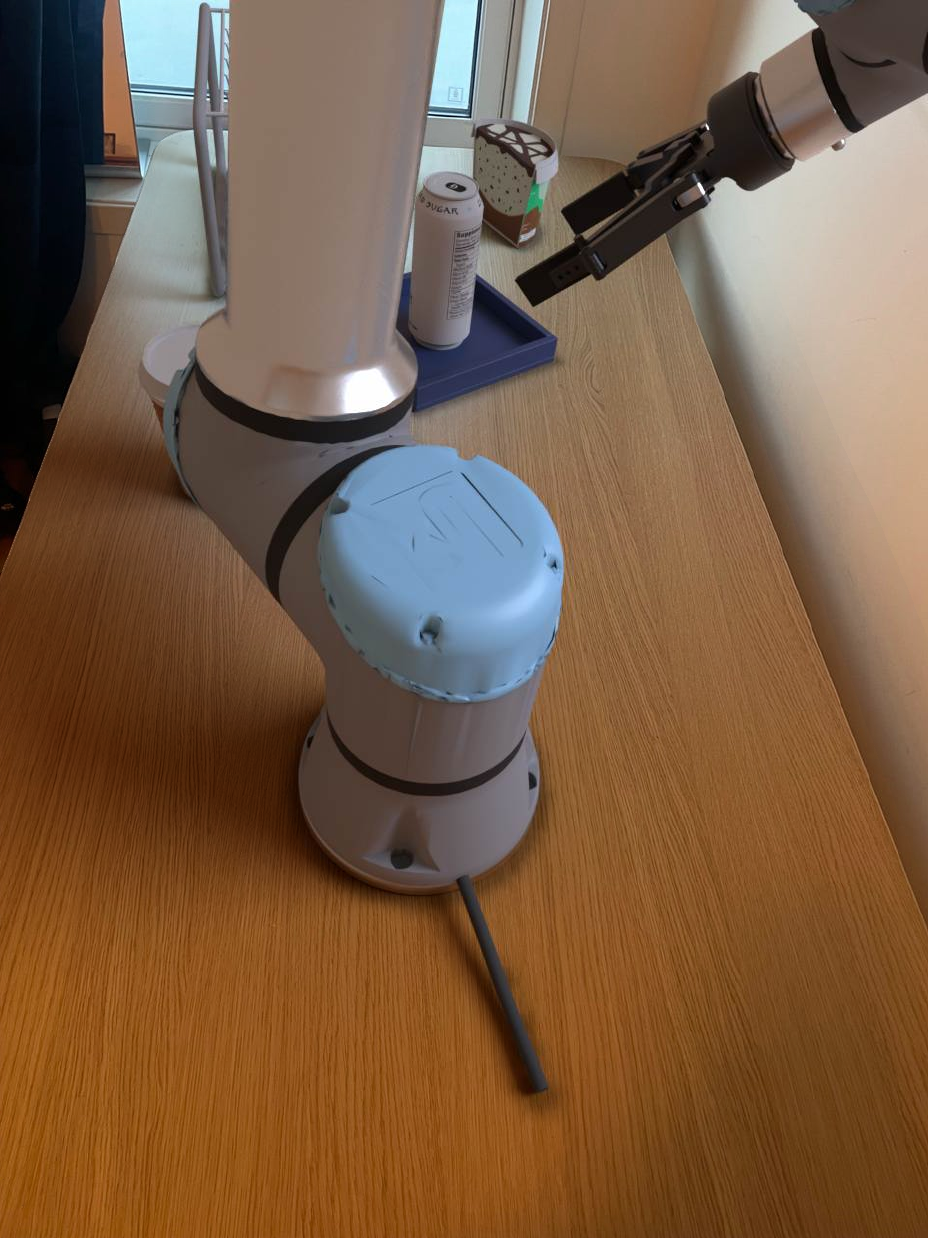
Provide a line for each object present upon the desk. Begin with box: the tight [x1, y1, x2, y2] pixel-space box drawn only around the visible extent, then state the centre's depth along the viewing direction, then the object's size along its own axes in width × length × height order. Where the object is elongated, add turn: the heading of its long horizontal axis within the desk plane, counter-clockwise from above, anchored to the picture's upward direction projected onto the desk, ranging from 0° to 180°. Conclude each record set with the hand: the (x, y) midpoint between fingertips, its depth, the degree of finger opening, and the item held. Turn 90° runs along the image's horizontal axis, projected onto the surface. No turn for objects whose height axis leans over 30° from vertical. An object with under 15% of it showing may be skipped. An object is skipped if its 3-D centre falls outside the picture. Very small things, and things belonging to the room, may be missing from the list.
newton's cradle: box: [192, 2, 229, 298], centre depth 96 cm, size 30×10×18 cm, turn 9°
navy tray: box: [396, 271, 559, 413], centre depth 92 cm, size 17×17×3 cm
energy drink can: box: [408, 170, 484, 350], centre depth 87 cm, size 6×6×15 cm
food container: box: [470, 117, 559, 249], centre depth 106 cm, size 12×6×10 cm, turn 34°
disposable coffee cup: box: [137, 321, 204, 500], centre depth 72 cm, size 10×10×12 cm
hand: (548, 255), depth 82 cm, fingers open, 13 cm apart
